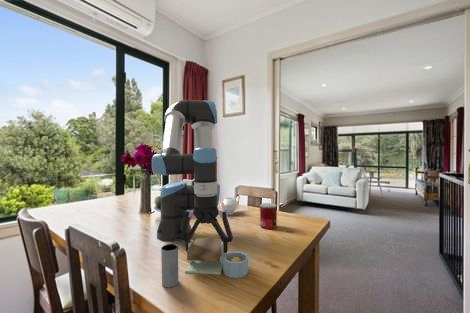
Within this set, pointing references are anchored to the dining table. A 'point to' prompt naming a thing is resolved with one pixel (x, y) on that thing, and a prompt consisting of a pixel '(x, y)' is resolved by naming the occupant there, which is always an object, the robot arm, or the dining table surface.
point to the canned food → (268, 216)
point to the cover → (205, 250)
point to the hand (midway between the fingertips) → (206, 261)
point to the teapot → (230, 205)
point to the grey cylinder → (169, 265)
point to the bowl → (235, 264)
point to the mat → (205, 267)
